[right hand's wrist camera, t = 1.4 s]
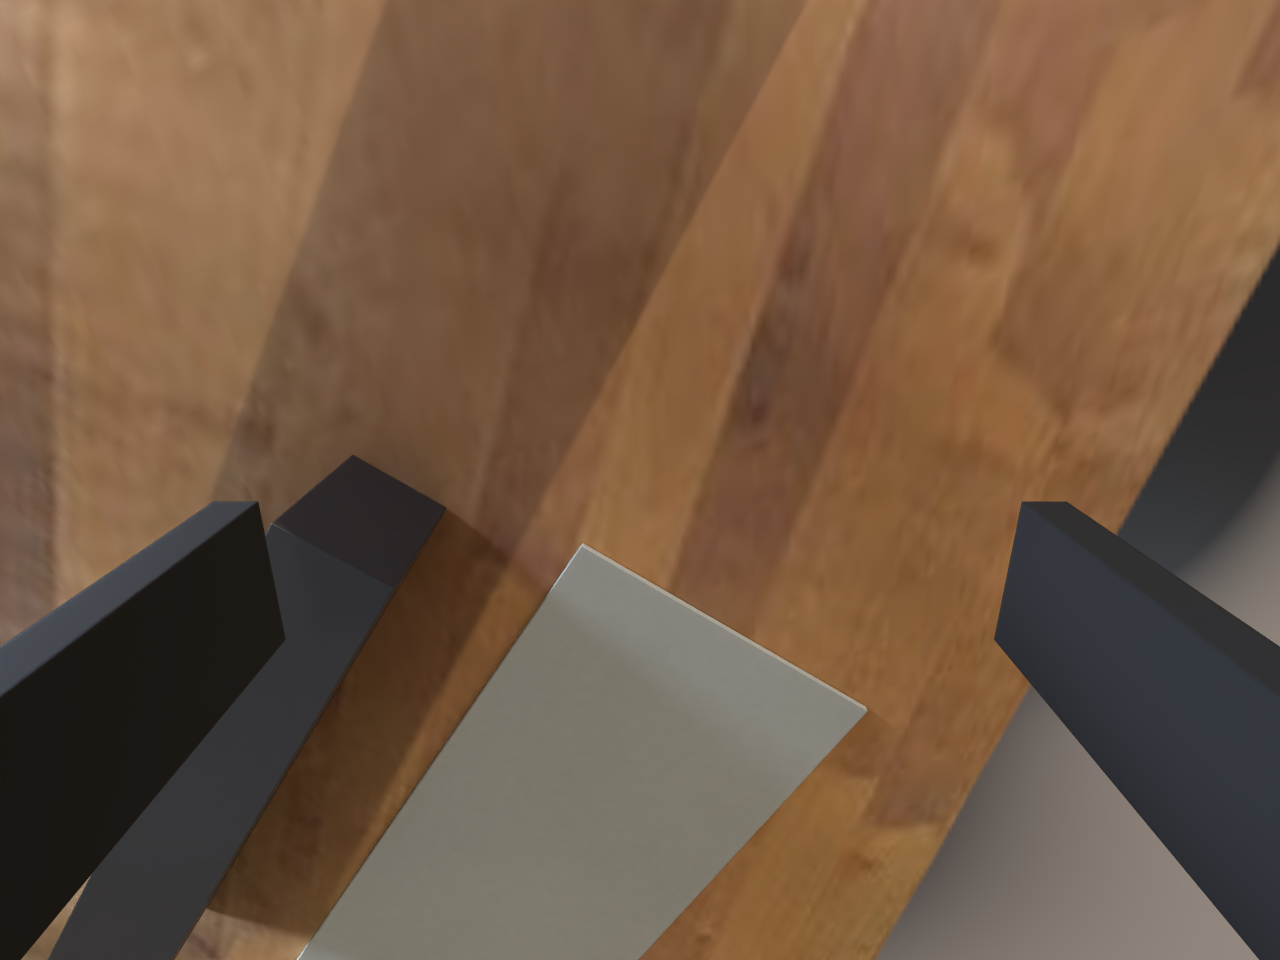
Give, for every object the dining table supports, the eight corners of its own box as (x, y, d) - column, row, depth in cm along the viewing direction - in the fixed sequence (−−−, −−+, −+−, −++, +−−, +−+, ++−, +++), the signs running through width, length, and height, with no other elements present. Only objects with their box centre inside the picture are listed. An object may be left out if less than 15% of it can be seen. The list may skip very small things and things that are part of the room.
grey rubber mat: (290, 969, 46) (287, 975, 46) (582, 542, 36) (581, 545, 35) (533, 1068, 49) (532, 1074, 49) (866, 706, 39) (868, 711, 39)
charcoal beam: (205, 909, 44) (116, 1051, 37) (126, 876, 43) (18, 1015, 36) (446, 507, 35) (393, 588, 27) (352, 454, 34) (270, 523, 26)
